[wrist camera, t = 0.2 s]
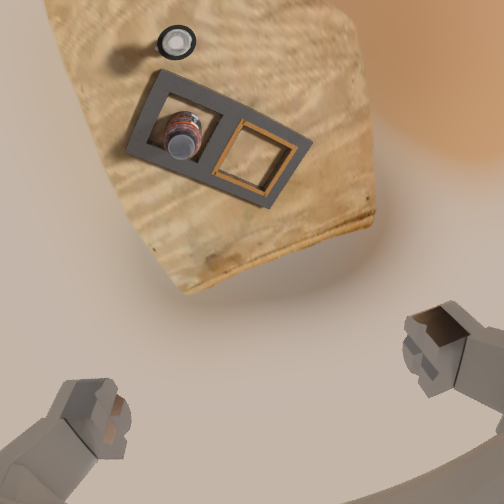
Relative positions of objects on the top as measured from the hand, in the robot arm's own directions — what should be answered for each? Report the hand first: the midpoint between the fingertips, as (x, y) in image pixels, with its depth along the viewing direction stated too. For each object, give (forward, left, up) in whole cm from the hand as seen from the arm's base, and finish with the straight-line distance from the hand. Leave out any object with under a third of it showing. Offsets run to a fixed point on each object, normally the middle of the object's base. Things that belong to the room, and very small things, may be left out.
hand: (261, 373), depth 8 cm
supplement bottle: (+9, +1, -52) cm, 53 cm away
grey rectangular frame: (+9, +8, -52) cm, 53 cm away
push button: (-4, -7, -52) cm, 53 cm away
